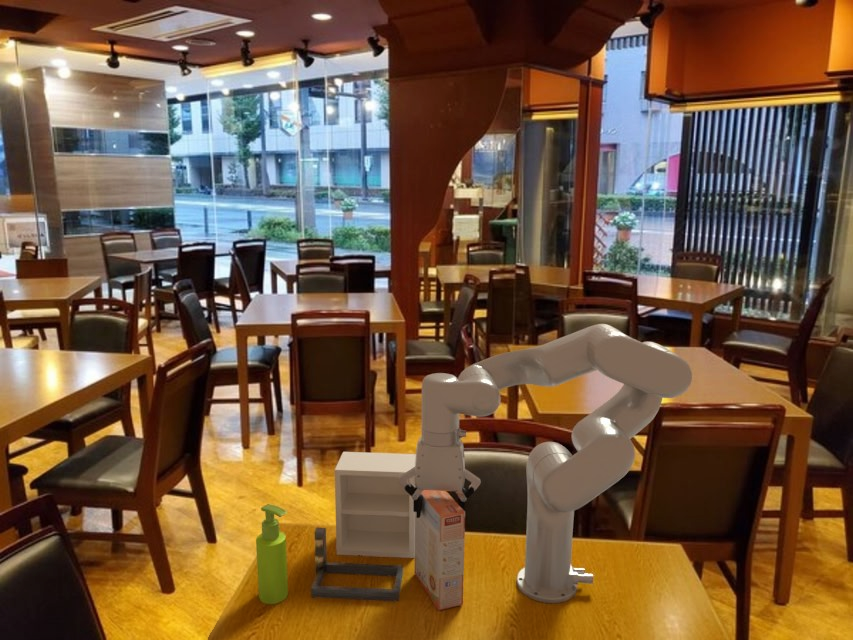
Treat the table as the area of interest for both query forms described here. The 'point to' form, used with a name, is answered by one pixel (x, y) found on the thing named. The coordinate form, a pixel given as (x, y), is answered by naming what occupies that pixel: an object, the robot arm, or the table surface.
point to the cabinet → (374, 505)
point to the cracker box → (440, 548)
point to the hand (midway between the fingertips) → (439, 515)
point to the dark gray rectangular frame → (351, 568)
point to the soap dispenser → (272, 558)
